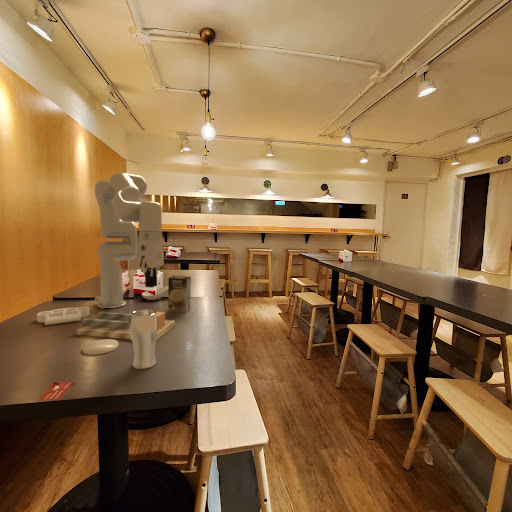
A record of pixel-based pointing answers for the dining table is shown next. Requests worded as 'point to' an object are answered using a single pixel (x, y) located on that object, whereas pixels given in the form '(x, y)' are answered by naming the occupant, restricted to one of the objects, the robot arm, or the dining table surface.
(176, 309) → the coffee box
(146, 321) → the beer glass
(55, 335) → the dining table surface
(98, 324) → the board
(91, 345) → the coaster
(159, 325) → the block
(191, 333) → the dining table surface
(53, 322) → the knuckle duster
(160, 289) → the spoon rest
